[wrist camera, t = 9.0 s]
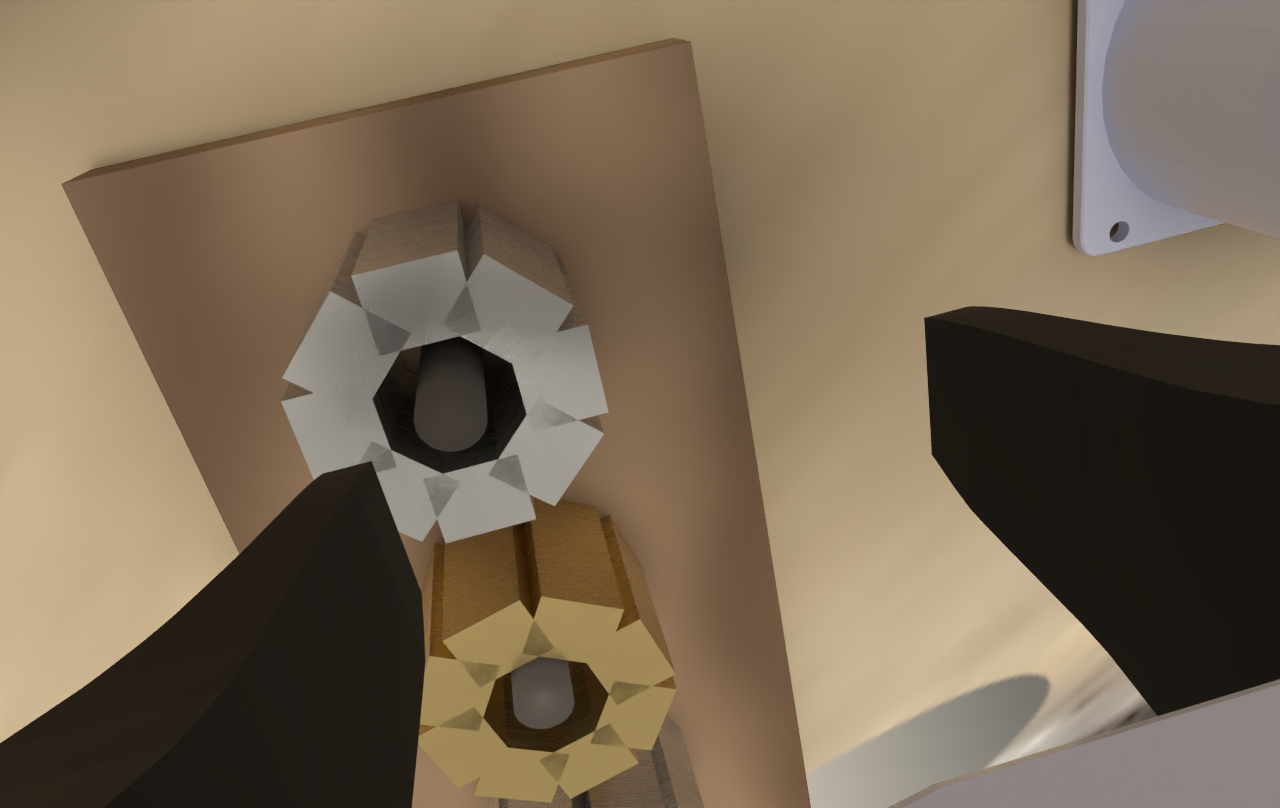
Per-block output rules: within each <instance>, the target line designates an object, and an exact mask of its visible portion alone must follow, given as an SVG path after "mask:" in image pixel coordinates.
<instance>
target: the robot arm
mask: <svg viewBox="0 0 1280 808" xmlns="http://www.w3.org/2000/svg"><path fill="white" fill-rule="evenodd" d="M1117 222H1118V224H1119V226H1118V230H1117V232H1116V233H1115V234H1114V236H1112V237H1110V236H1109V233H1110V230H1111V228H1112V227H1113V225H1114V224H1115V223H1117ZM1224 223H1227V224H1231V225H1234V226H1237V227H1241V228H1244V229H1248V230H1251V231H1254V232H1258V233H1261V234H1264V235H1268V236H1271V237H1274V238H1278V239H1280V0H1078V24H1077V69H1076V113H1075V157H1074V201H1073V243H1074V246H1075V247H1076V248H1077V250H1078V251H1081V252H1083V253H1085V254H1088V255H1090V256H1099V255H1103V254H1107V253H1111V252H1115V251H1118V250H1122V249H1126V248H1130V247H1134V246H1138V245H1142V244H1146V243H1150V242H1154V241H1157V240H1161V239H1165V238H1169V237H1173V236H1177V235H1181V234H1185V233H1189V232H1192V231H1196V230H1200V229H1204V228H1208V227H1212V226H1216V225H1220V224H1224ZM924 320H925V338H926V356H927V374H928V392H929V410H930V428H931V446H932V455H933V457H934V458H935V459H936V461H937V462H938V464H939V465H940V467H941V468H942V470H943V471H944V473H945V474H946V476H947V477H948V479H949V480H950V482H951V483H952V485H953V486H954V487H955V489H956V490H957V491H958V493H959V494H960V495H961V497H962V498H963V499H964V501H965V502H966V504H967V505H968V506H969V508H970V509H971V510H972V511H973V512H974V513H975V514H976V515H977V517H978V518H979V519H980V520H981V521H982V522H983V523H984V524H985V525H986V526H987V527H988V528H989V529H990V530H991V531H992V532H993V533H994V534H995V535H996V536H997V538H998V539H999V540H1000V541H1001V542H1002V543H1003V544H1004V545H1005V546H1006V547H1007V548H1008V549H1009V550H1010V551H1011V552H1012V553H1013V554H1014V555H1015V556H1016V557H1017V558H1018V559H1019V560H1020V561H1021V562H1022V563H1023V564H1024V565H1025V566H1026V567H1027V568H1028V569H1029V570H1030V571H1031V572H1032V573H1033V574H1034V575H1035V576H1036V577H1037V579H1038V580H1039V581H1040V582H1041V583H1042V584H1043V585H1044V586H1045V587H1046V588H1047V589H1048V590H1049V591H1050V592H1051V593H1052V594H1053V595H1054V596H1055V597H1056V598H1057V599H1058V600H1059V601H1060V602H1061V603H1062V604H1063V605H1064V606H1065V607H1066V608H1067V609H1068V610H1069V611H1070V612H1071V613H1072V614H1073V615H1074V616H1075V617H1076V618H1077V619H1078V620H1079V621H1080V622H1081V623H1082V624H1083V625H1084V626H1085V628H1086V629H1087V630H1088V631H1089V632H1090V633H1091V634H1092V635H1093V637H1094V638H1095V639H1096V640H1097V641H1098V642H1099V643H1100V644H1101V645H1102V647H1103V648H1104V649H1105V650H1106V651H1107V652H1108V653H1109V655H1110V656H1111V657H1112V658H1113V660H1114V661H1115V662H1116V663H1117V665H1118V666H1119V667H1120V668H1121V670H1122V671H1123V672H1124V674H1125V675H1126V676H1127V677H1128V679H1129V680H1130V681H1131V683H1132V684H1133V685H1134V686H1135V688H1136V689H1137V690H1138V691H1139V693H1140V694H1141V695H1142V697H1143V698H1144V699H1145V700H1146V702H1147V703H1148V704H1149V705H1150V707H1151V708H1152V709H1153V711H1154V712H1155V713H1156V714H1157V717H1154V718H1151V719H1147V720H1144V721H1141V722H1137V723H1134V724H1131V725H1127V726H1124V727H1121V728H1118V729H1114V730H1111V731H1108V732H1104V733H1101V734H1098V735H1095V736H1091V737H1088V738H1085V739H1081V740H1078V741H1075V742H1072V743H1068V744H1065V745H1062V746H1058V747H1055V748H1052V749H1048V750H1045V751H1042V752H1039V753H1035V754H1032V755H1029V756H1025V757H1022V758H1019V759H1016V760H1012V761H1009V762H1006V763H1002V764H999V765H996V766H993V767H989V768H986V769H983V770H979V771H976V772H973V773H970V774H967V775H963V776H960V777H956V778H953V779H950V780H947V781H943V782H940V783H937V784H934V785H932V786H930V787H928V788H926V789H924V790H922V791H920V792H918V793H916V794H914V795H912V796H910V797H908V798H906V799H904V800H903V801H900V802H898V803H896V804H895V805H892V806H890V807H888V808H1280V345H1265V344H1251V343H1240V342H1230V341H1220V340H1212V339H1204V338H1196V337H1188V336H1180V335H1172V334H1164V333H1157V332H1150V331H1143V330H1137V329H1130V328H1124V327H1118V326H1111V325H1105V324H1099V323H1093V322H1087V321H1082V320H1076V319H1070V318H1064V317H1058V316H1052V315H1046V314H1040V313H1033V312H1027V311H1020V310H1012V309H1005V308H995V307H974V306H971V307H965V308H961V309H957V310H954V311H950V312H946V313H942V314H938V315H934V316H930V317H926V318H924ZM424 673H425V638H424V620H423V605H422V592H421V590H420V587H419V584H418V582H417V579H416V577H415V574H414V571H413V569H412V566H411V563H410V561H409V558H408V555H407V553H406V550H405V548H404V545H403V542H402V540H401V537H400V534H399V532H398V529H397V526H396V524H395V521H394V519H393V516H392V513H391V511H390V508H389V505H388V503H387V500H386V497H385V495H384V492H383V490H382V487H381V484H380V482H379V479H378V476H377V474H376V471H375V468H374V466H373V463H372V461H369V462H365V463H362V464H358V465H354V466H350V467H346V468H342V469H338V470H334V471H331V472H327V473H323V474H321V475H320V476H319V477H317V478H316V479H315V480H313V481H312V482H311V483H310V484H309V485H308V486H307V487H306V488H305V489H303V490H302V491H301V492H300V493H299V494H298V495H297V496H296V497H295V498H294V499H293V500H292V501H291V502H290V503H289V504H288V505H287V506H286V507H285V508H284V509H283V510H282V511H281V513H280V514H279V515H278V516H277V517H276V518H275V519H274V520H273V521H272V522H271V523H270V524H269V525H268V526H267V527H266V528H265V529H264V530H263V531H262V532H261V533H260V534H259V535H258V536H257V537H256V538H255V539H254V540H253V541H252V542H251V543H250V544H249V545H248V546H247V547H246V548H245V549H244V550H243V551H242V552H241V553H240V554H239V555H238V556H237V557H236V558H235V559H234V560H233V561H232V562H231V563H230V564H229V565H228V566H227V567H226V568H225V569H224V570H223V571H222V572H220V573H219V574H218V575H217V576H216V577H215V578H214V579H213V580H212V581H211V582H210V583H209V584H208V585H206V586H205V587H204V588H203V589H202V590H201V591H200V592H199V593H198V594H197V595H196V596H195V597H194V598H192V599H191V600H190V601H189V602H188V603H187V604H186V605H185V606H184V607H183V608H182V609H181V610H180V611H179V612H177V613H176V614H175V615H174V616H173V617H172V618H171V619H169V620H168V621H167V622H166V623H165V624H164V625H162V626H161V627H160V628H159V629H158V630H157V631H155V632H154V633H153V634H152V635H150V636H149V637H148V638H147V639H146V640H144V641H143V642H142V643H141V644H140V645H138V646H137V647H136V648H134V649H133V650H132V651H131V652H129V653H128V654H127V655H125V656H124V657H123V658H121V659H120V660H119V661H118V662H116V663H115V664H114V665H112V666H111V667H110V668H109V669H107V670H106V671H105V672H103V673H102V674H101V675H100V676H98V677H97V678H95V679H94V680H93V681H91V682H90V683H89V684H87V685H86V686H84V687H83V688H82V689H80V690H79V691H77V692H76V693H74V694H73V695H71V696H70V697H68V698H67V699H65V700H64V701H62V702H61V703H59V704H58V705H56V706H55V707H54V708H52V709H51V710H49V711H48V712H46V713H45V714H43V715H42V716H40V717H39V718H37V719H36V720H34V721H33V722H31V723H30V724H28V725H27V726H25V727H24V728H22V729H21V730H19V731H18V732H16V733H15V734H13V735H12V736H10V737H9V738H7V739H6V740H4V741H3V742H2V743H0V808H412V801H413V790H414V780H415V770H416V759H417V749H418V739H419V729H420V718H421V707H422V696H423V685H424Z"/></svg>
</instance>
